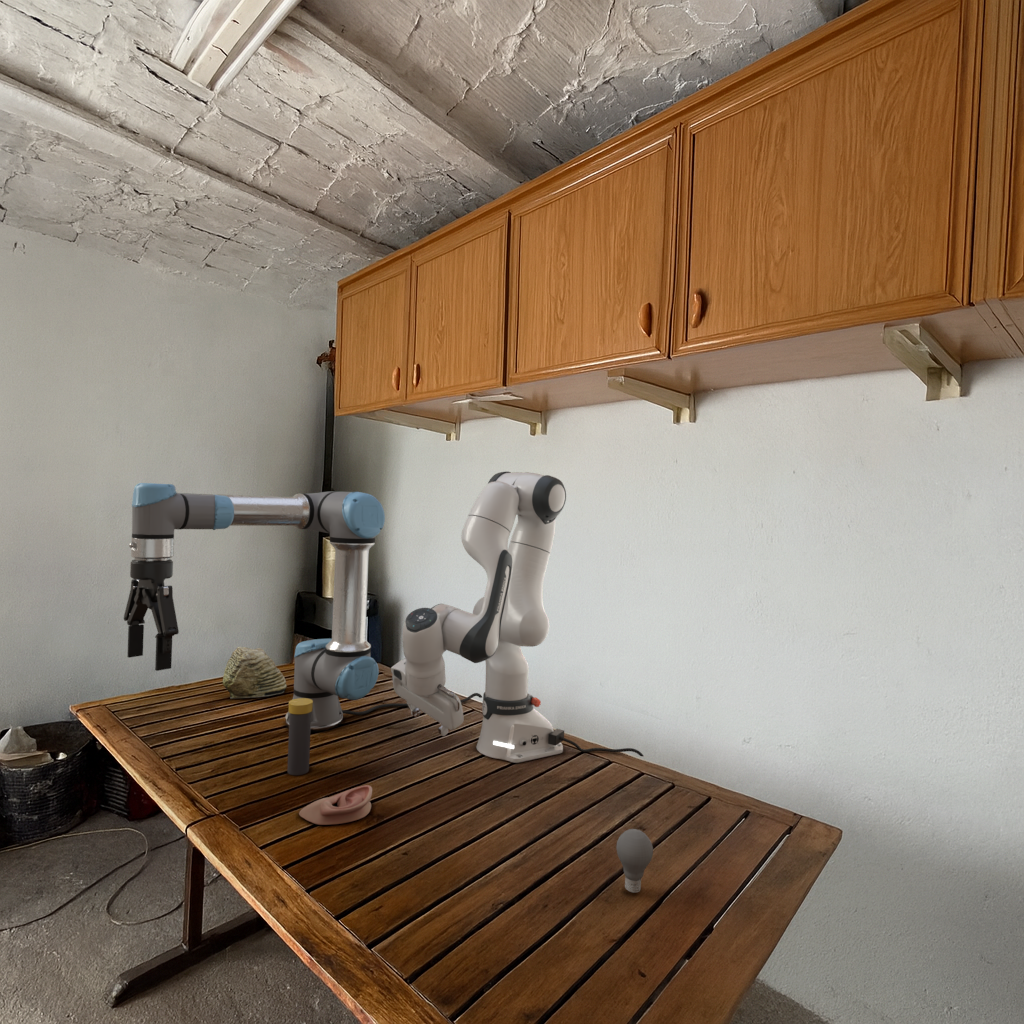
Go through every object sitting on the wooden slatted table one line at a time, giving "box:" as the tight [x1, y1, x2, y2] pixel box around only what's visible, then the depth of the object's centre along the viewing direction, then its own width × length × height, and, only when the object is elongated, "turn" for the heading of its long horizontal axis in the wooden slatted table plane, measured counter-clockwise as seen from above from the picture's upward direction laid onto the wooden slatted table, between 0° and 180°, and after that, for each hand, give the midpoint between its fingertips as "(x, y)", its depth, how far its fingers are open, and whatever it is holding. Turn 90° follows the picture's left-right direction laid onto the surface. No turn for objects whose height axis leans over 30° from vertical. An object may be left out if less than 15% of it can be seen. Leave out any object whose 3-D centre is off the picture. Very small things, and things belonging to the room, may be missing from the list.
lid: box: [287, 698, 313, 714], centre depth 145 cm, size 5×5×2 cm
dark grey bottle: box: [286, 712, 311, 776], centre depth 146 cm, size 5×5×16 cm
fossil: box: [222, 646, 288, 699], centre depth 198 cm, size 9×18×15 cm, turn 132°
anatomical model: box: [298, 784, 373, 826], centre depth 127 cm, size 13×4×12 cm
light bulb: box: [615, 828, 654, 894], centre depth 106 cm, size 6×6×10 cm
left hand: (148, 662), depth 129 cm, fingers open, 13 cm apart
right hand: (429, 723), depth 148 cm, fingers open, 8 cm apart
